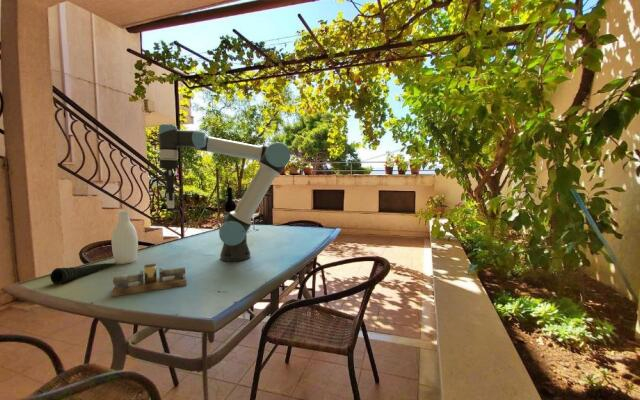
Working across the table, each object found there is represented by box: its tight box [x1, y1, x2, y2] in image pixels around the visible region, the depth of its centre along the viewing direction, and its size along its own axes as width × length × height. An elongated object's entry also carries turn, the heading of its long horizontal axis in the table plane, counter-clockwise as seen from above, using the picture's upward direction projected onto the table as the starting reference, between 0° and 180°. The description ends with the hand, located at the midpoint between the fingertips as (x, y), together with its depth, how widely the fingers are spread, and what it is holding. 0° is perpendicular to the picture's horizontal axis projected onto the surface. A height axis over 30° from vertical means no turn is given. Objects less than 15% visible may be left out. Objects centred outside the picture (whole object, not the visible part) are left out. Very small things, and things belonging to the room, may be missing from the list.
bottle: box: [110, 209, 139, 265], centre depth 148 cm, size 11×11×25 cm
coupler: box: [143, 263, 158, 283], centre depth 115 cm, size 4×4×7 cm
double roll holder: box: [111, 266, 188, 297], centre depth 115 cm, size 24×9×6 cm, turn 118°
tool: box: [49, 262, 117, 286], centre depth 130 cm, size 28×6×7 cm, turn 167°
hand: (170, 206), depth 136 cm, fingers open, 13 cm apart
